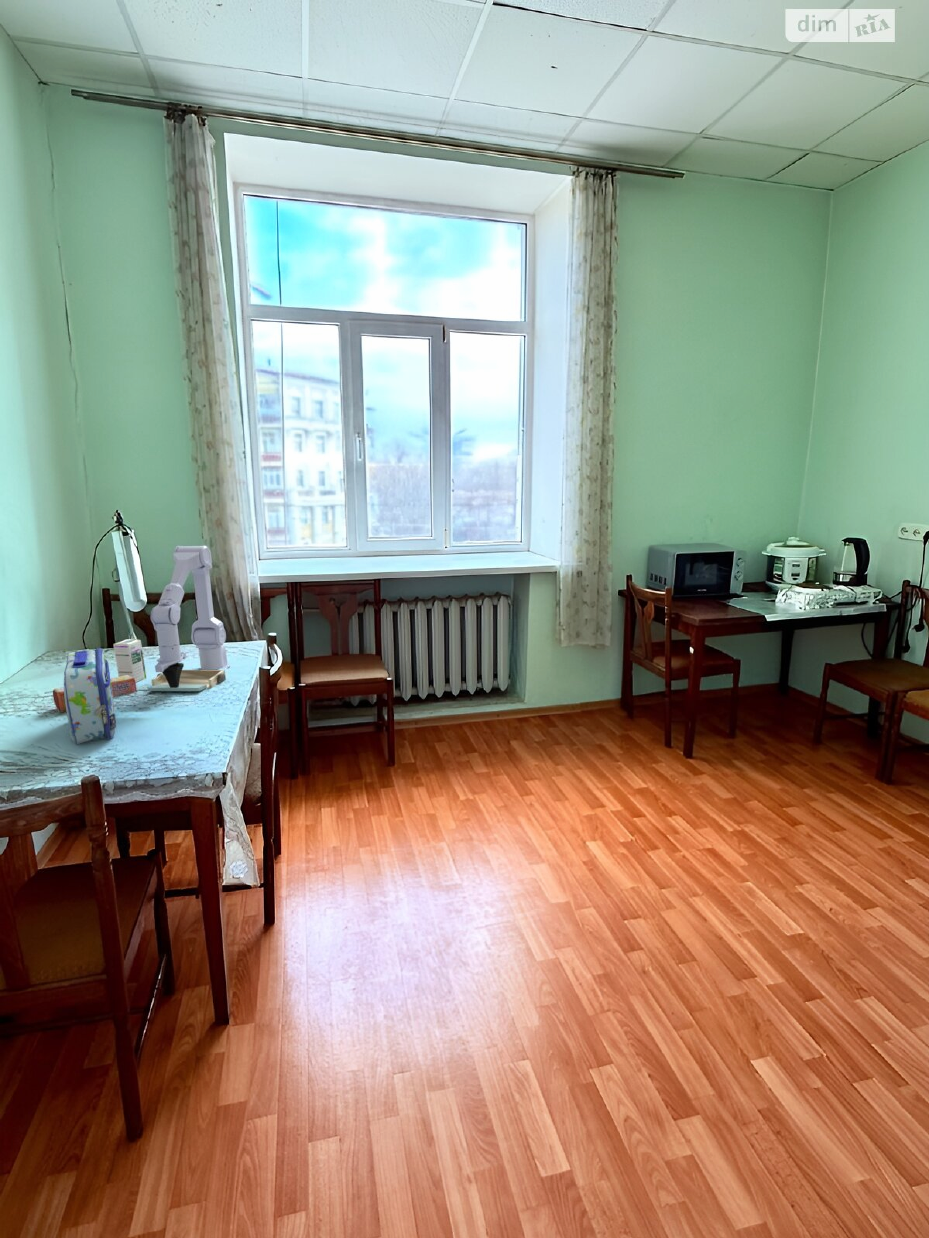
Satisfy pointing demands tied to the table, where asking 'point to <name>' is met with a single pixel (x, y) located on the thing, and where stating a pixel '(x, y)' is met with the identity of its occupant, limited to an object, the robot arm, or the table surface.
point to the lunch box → (89, 696)
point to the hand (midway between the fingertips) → (174, 687)
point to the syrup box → (130, 659)
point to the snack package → (118, 688)
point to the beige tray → (195, 678)
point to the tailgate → (181, 688)
